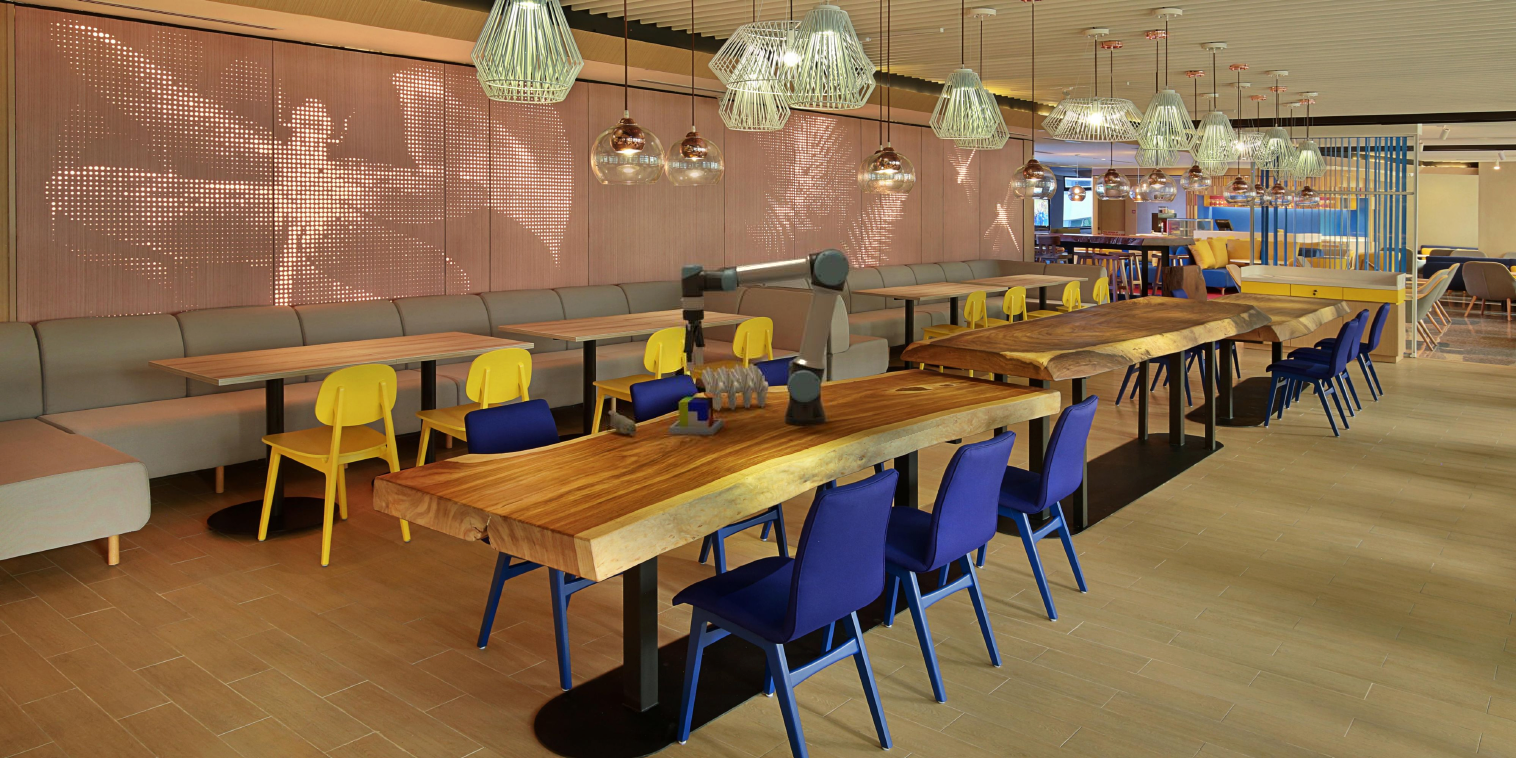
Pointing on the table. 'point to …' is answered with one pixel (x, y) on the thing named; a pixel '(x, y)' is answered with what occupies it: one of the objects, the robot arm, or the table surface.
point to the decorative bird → (622, 424)
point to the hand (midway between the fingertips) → (695, 368)
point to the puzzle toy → (696, 412)
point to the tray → (696, 429)
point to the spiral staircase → (735, 385)
